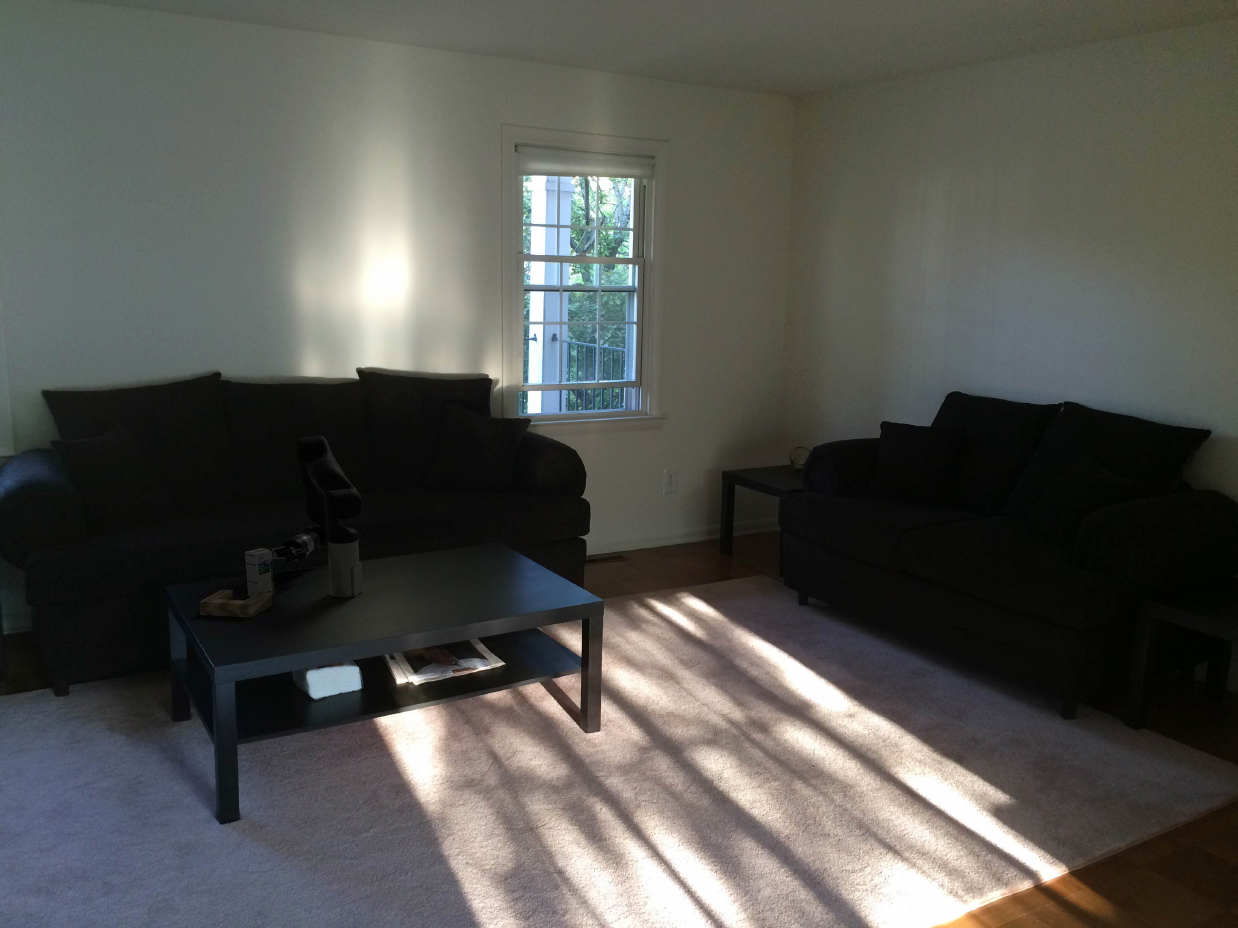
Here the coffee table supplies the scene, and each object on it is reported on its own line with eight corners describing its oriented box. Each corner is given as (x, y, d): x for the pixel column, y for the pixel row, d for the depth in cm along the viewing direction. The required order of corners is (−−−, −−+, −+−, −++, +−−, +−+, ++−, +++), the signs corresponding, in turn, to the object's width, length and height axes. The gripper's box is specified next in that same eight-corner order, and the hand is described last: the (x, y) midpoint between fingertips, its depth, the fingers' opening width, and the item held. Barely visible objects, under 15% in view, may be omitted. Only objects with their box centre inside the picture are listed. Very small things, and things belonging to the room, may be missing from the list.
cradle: (271, 604, 298) (271, 592, 297) (251, 617, 286) (250, 604, 286) (222, 602, 300) (221, 589, 300) (200, 614, 289) (199, 601, 288)
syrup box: (259, 599, 303) (256, 553, 301) (247, 596, 307) (244, 550, 304) (274, 594, 308) (272, 549, 306) (263, 591, 311) (260, 547, 309)
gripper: (277, 535, 332) (253, 547, 316) (317, 536, 329) (295, 548, 314) (278, 556, 333) (254, 569, 317) (318, 558, 331) (296, 571, 315)
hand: (274, 559), depth 315 cm, fingers open, 8 cm apart
